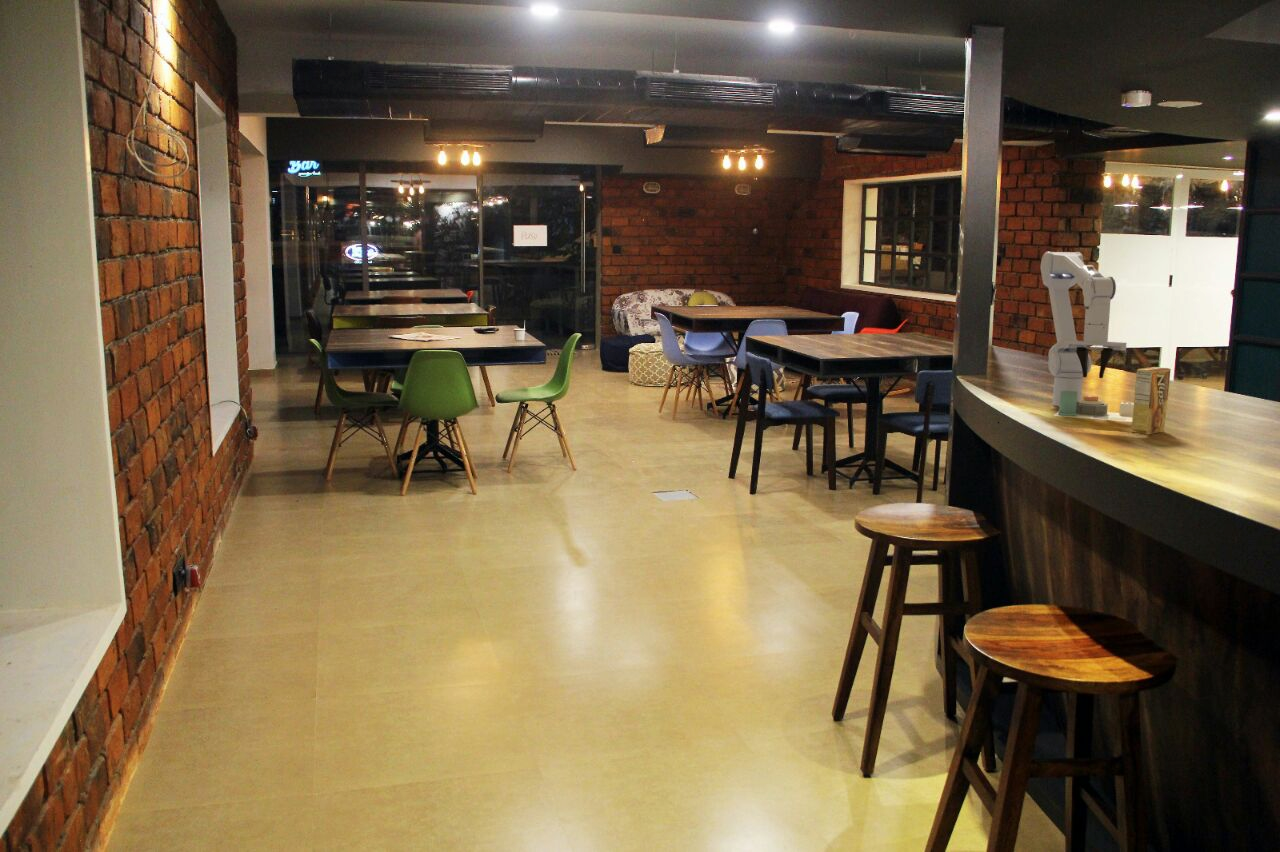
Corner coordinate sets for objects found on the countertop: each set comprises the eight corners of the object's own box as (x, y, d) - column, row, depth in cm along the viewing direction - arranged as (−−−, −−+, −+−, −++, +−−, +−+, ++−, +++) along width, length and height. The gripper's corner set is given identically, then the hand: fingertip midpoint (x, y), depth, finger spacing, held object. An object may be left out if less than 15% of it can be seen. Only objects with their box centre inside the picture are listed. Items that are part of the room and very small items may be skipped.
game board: (1061, 412, 288) (1062, 397, 287) (1152, 419, 277) (1153, 403, 277) (1052, 419, 275) (1053, 403, 275) (1146, 427, 264) (1148, 410, 264)
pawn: (1059, 413, 280) (1061, 390, 279) (1077, 414, 277) (1079, 391, 276) (1056, 415, 276) (1058, 391, 275) (1075, 416, 274) (1076, 393, 273)
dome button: (1080, 402, 283) (1080, 394, 283) (1103, 404, 281) (1103, 396, 280) (1077, 405, 279) (1077, 396, 278) (1100, 407, 276) (1101, 398, 276)
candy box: (1148, 429, 261) (1153, 366, 259) (1165, 431, 258) (1171, 368, 255) (1130, 433, 256) (1135, 368, 253) (1148, 435, 252) (1153, 370, 250)
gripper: (1064, 324, 276) (1060, 377, 278) (1125, 326, 269) (1121, 380, 271) (1068, 323, 282) (1064, 374, 284) (1128, 325, 275) (1124, 378, 277)
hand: (1092, 377), depth 278 cm, fingers open, 3 cm apart
